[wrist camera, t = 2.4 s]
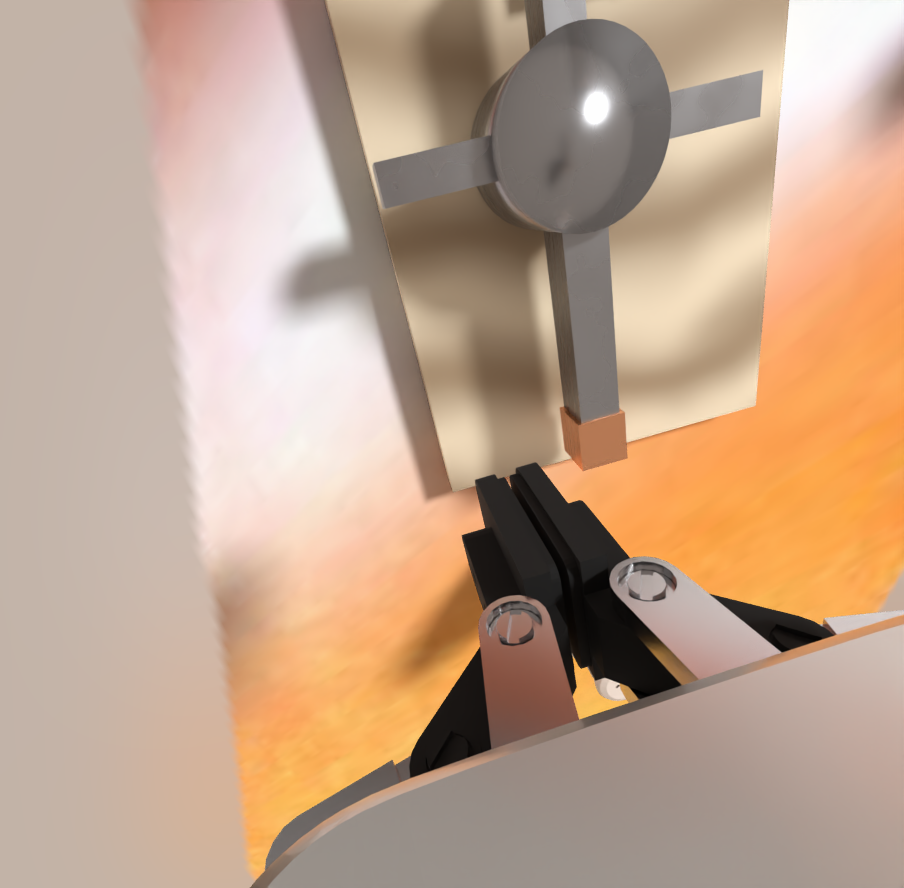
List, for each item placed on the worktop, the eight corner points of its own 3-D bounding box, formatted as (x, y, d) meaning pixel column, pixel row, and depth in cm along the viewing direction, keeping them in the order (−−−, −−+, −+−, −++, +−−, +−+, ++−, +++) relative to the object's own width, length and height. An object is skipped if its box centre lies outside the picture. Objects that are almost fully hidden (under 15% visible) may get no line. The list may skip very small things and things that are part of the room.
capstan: (316, -40, 16) (304, -119, 12) (703, -122, 17) (806, -220, 13) (446, 467, 26) (463, 513, 22) (694, 397, 26) (753, 429, 22)
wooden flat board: (300, -91, 17) (290, -147, 14) (771, -186, 18) (843, -254, 16) (448, 478, 28) (457, 506, 25) (736, 396, 29) (774, 414, 27)
